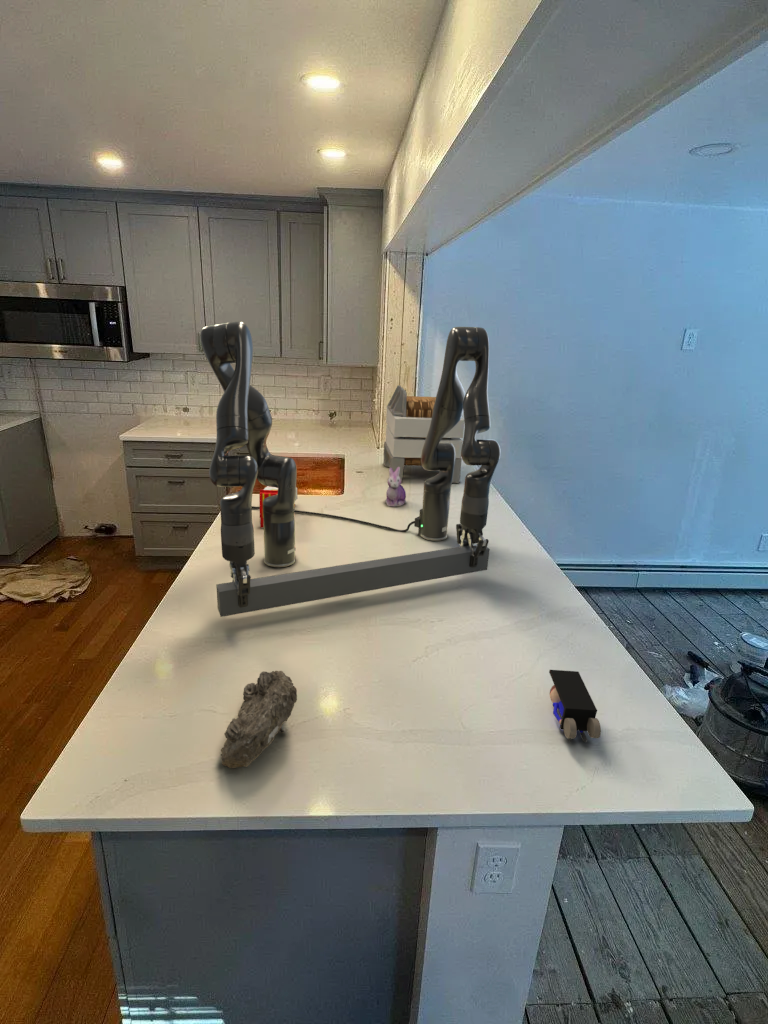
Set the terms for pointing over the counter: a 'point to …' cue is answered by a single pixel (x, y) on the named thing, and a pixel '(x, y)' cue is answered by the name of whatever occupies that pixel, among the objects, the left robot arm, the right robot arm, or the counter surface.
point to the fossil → (258, 718)
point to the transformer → (414, 432)
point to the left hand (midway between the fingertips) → (241, 601)
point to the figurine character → (573, 705)
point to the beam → (348, 579)
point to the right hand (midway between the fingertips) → (468, 563)
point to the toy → (264, 494)
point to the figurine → (395, 489)
